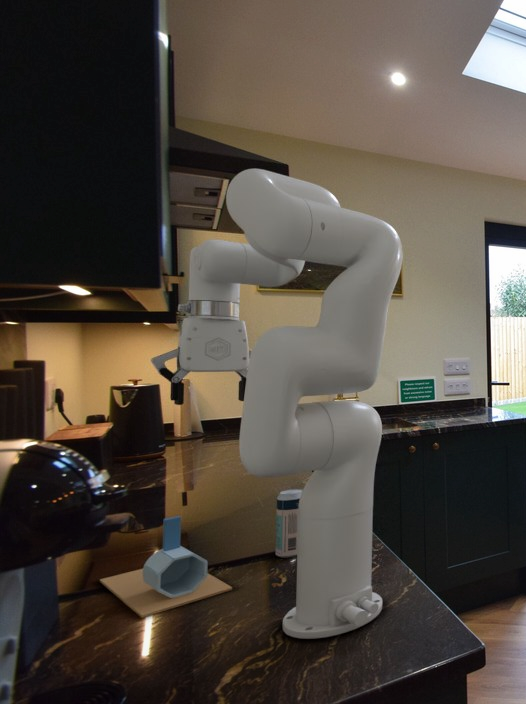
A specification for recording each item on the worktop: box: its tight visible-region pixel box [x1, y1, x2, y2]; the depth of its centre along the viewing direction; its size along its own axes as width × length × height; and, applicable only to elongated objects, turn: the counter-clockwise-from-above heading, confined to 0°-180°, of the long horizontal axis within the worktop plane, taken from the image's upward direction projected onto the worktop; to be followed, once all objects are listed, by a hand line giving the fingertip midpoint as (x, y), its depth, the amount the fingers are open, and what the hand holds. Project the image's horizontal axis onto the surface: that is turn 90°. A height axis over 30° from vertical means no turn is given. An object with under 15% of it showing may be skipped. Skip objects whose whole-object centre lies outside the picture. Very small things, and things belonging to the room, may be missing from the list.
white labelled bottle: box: [275, 488, 304, 559], centre depth 101 cm, size 5×5×12 cm
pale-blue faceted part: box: [142, 515, 209, 598], centre depth 84 cm, size 7×6×11 cm
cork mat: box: [99, 568, 233, 619], centre depth 86 cm, size 22×11×1 cm, turn 57°
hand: (212, 402), depth 98 cm, fingers open, 9 cm apart
